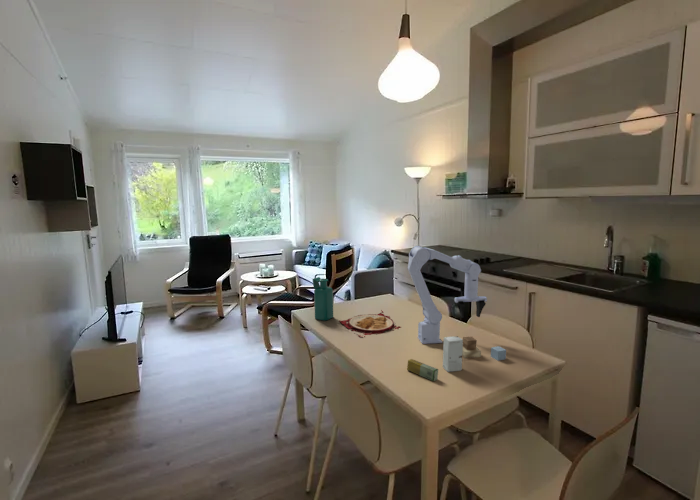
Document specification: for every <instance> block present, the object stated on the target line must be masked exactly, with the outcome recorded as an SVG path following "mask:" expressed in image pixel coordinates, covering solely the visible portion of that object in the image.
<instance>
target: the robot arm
mask: <svg viewBox="0 0 700 500" xmlns="http://www.w3.org/2000/svg"><path fill="white" fill-rule="evenodd" d="M434 259H436V260H439V261H441V262H443V263H447V264H449V266H450V268H452V269H455V270H457V271H460V272H463V273H464V291H463V292H464V296H463V295H462V296H458V297H454V303H456V305H457V308H458V311H459V316H460V318H462V319H464V317H465V308H466V304H465V303H469V302H470V303H471V302H475V305H476V311H475V313H476V317H478V318H480V317H481V315H482V311H483V309H484V308H485V307H486V304H487V303H486V302H488V297H487V296H484V295H483V296H482V295H481V296H480V295H479V296H478V294H479V293H478V290H479V275H480V274H481V272H482V269H481V266H480V264H478V263H477V262H474V261H472V260H471V259H466V258H463V257H462V255H460V254H458V255H453V256H451V255H447V254H445V253H442V252H441V251H438V250H435V249H432V248H429V247H424V246H423V247H422V246H421V245H415V246H413V247H412V248H411V249H410V251H409V253H408V263H407V271H408V274H409V275H410V278H411V280H412V283H413V286H414V287H415V291H416V292H417V294H418V297H419V300H420V301H421V307H422V315H423V316H424V318H423V321H420V322H419V321H418V326H417V327H418V328H417V339H418V340H419V341H420V343H421V344H444V341H443V340H442V339H441V338H440V337H441V335H440V334H441V332H440V331H441V321H442V319H443V315H442V312H441V311H440V310H439V309H438V308H437V306H436V304H435V302H434V300H433V298H432V296H431V293H430V291H429V288H428V286H427V284H426V281H425V278H424V275H423V274H422V272H421V270H422V267H423V266H424V265H425V264H427V262H428V261H433V260H434Z"/></svg>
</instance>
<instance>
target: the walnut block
mask: <svg viewBox="0 0 700 500" xmlns="http://www.w3.org/2000/svg"><path fill="white" fill-rule="evenodd" d="M462 340H463V347H464V348H465V349H466V350H475V349H476V347H477V338H475V337H473V336H463V337H462Z"/></svg>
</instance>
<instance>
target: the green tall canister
mask: <svg viewBox="0 0 700 500" xmlns="http://www.w3.org/2000/svg"><path fill="white" fill-rule="evenodd" d="M327 282H329V279H328V278H321V277H320V276H318V277H314V278H312V285H313V286H312V287H313V288H314V290H313V291H314V292H313V294H314V295H313V296H314V299H313V300H314V301H313V302H314V318H315V319H316V320H320V321H324V322H326V321H329V320H331V319H333V318H334V289H333V288H332V287H330V286H328V283H327Z"/></svg>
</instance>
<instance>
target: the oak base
mask: <svg viewBox="0 0 700 500" xmlns="http://www.w3.org/2000/svg"><path fill="white" fill-rule="evenodd" d="M480 357H482V350H481V349H480V348H478V346H476V349H475V350H466V349H465V348H464V347H463V349H462V358H464V359H471V358H480Z"/></svg>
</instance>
